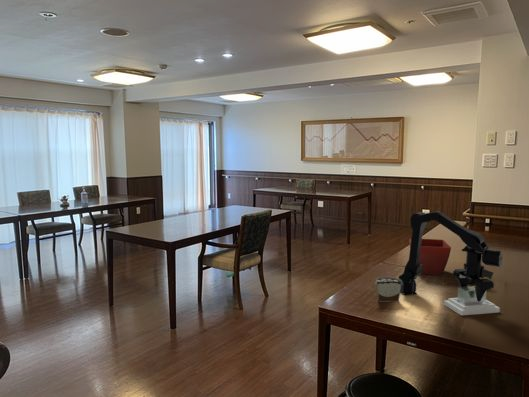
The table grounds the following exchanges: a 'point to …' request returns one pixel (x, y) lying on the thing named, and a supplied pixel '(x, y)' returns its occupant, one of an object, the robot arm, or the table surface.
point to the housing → (469, 296)
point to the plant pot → (433, 256)
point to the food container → (388, 289)
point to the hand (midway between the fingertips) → (471, 297)
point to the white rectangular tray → (471, 307)
